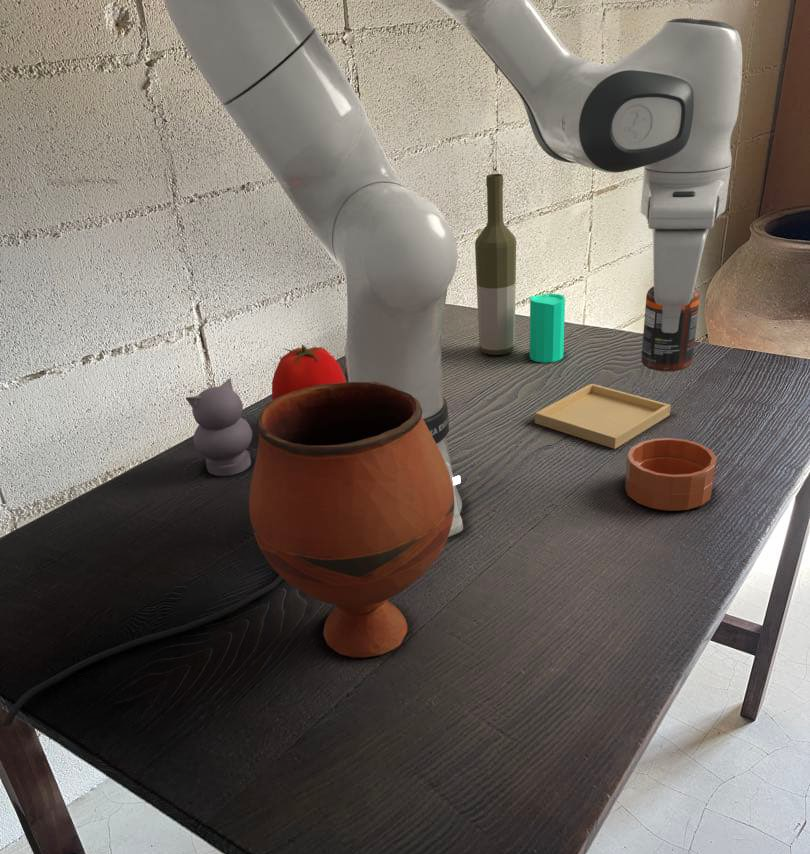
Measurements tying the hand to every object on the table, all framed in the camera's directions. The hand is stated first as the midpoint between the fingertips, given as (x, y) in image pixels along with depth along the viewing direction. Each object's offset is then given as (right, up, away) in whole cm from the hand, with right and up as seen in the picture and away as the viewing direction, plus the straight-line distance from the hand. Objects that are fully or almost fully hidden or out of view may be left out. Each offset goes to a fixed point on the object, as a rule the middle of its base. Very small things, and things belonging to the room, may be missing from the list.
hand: (670, 320), depth 96 cm
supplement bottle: (0, -5, +3) cm, 6 cm away
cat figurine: (-57, -15, +24) cm, 63 cm away
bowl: (+2, -20, +8) cm, 21 cm away
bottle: (-14, +9, +55) cm, 58 cm away
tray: (-1, -7, +27) cm, 28 cm away
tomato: (-45, -8, +33) cm, 56 cm away
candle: (-6, +7, +51) cm, 52 cm away
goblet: (-35, -35, -11) cm, 51 cm away
